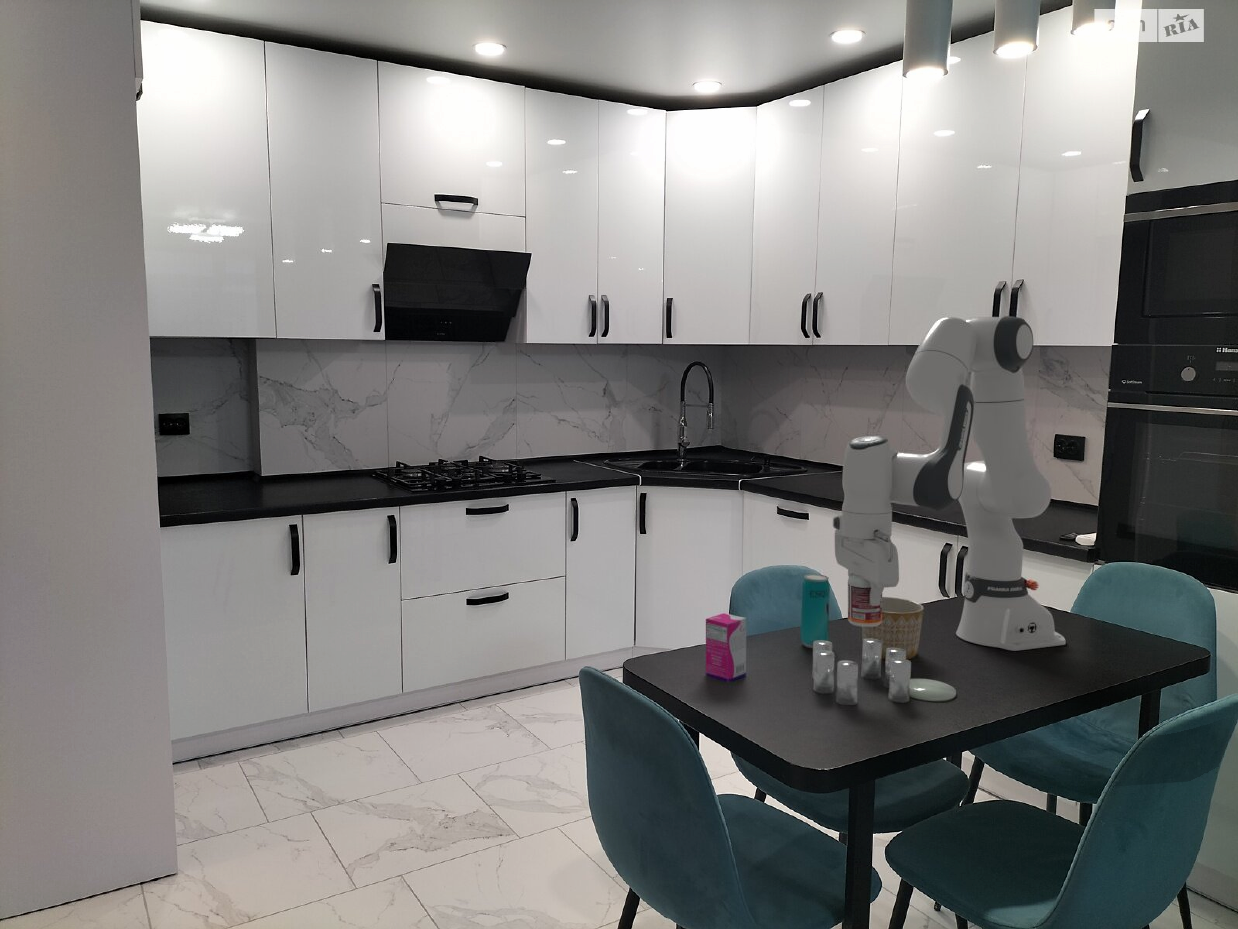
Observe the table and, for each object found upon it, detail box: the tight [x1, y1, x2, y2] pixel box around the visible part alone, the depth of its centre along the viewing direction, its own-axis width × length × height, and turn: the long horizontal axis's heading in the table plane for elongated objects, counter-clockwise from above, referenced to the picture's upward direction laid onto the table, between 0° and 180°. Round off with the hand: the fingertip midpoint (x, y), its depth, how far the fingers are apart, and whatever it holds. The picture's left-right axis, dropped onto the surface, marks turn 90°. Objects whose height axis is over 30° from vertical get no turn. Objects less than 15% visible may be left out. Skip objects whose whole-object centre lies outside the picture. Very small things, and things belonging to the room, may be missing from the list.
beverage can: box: [800, 573, 831, 649], centre depth 194 cm, size 6×6×15 cm
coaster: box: [909, 678, 957, 702], centre depth 168 cm, size 10×10×1 cm
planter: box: [861, 596, 925, 660], centre depth 189 cm, size 13×13×10 cm
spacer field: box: [811, 638, 912, 706], centre depth 168 cm, size 18×16×7 cm
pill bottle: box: [847, 562, 883, 628], centre depth 167 cm, size 6×6×11 cm
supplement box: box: [705, 612, 747, 683], centre depth 175 cm, size 6×6×12 cm
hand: (865, 599), depth 167 cm, fingers closed on pill bottle, 6 cm apart
